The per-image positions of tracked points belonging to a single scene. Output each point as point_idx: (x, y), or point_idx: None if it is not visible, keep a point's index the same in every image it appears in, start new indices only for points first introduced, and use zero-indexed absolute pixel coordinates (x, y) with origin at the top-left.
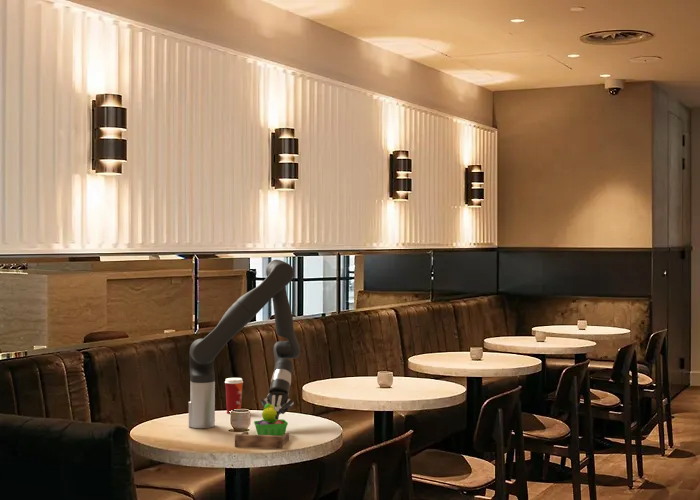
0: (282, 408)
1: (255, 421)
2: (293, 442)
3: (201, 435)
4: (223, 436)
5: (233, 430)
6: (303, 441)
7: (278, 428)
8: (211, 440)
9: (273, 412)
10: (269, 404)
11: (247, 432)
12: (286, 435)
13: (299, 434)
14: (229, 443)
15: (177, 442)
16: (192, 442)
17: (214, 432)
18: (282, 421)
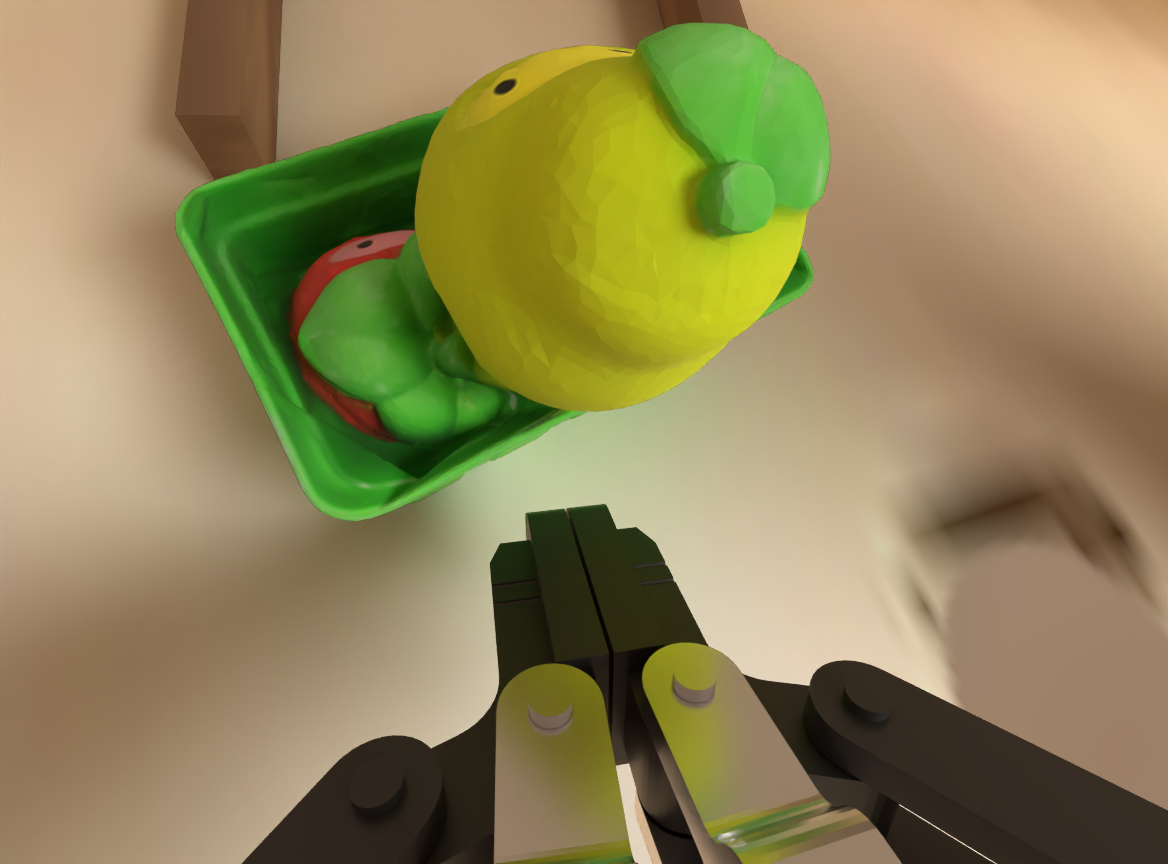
0: (360, 796)
1: (796, 278)
2: (147, 99)
3: (1163, 228)
4: (971, 226)
5: (1069, 527)
6: (14, 155)
7: (366, 215)
8: (962, 79)
9: (463, 92)
10: (667, 35)
11: None
12: (194, 1)
13: (104, 532)
14: (768, 8)
15: (1128, 2)
16: (1041, 11)
17: (1163, 372)
18: (309, 316)
